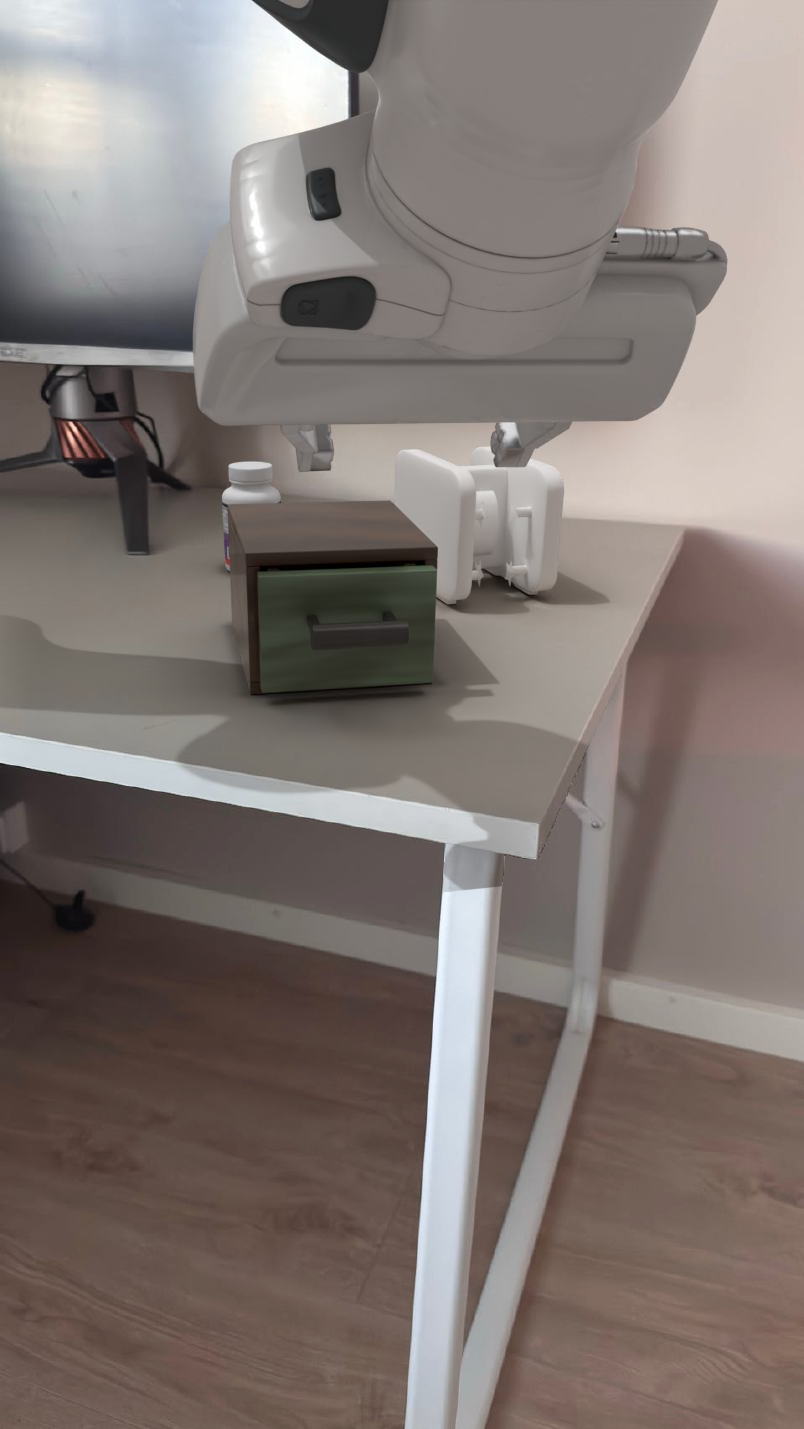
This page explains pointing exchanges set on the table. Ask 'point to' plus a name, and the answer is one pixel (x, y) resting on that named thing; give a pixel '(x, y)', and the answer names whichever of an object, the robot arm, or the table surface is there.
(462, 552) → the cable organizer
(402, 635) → the drawer
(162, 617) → the table surface
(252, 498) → the pill bottle
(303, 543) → the cabinet
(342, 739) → the table surface
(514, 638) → the table surface
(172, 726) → the table surface
